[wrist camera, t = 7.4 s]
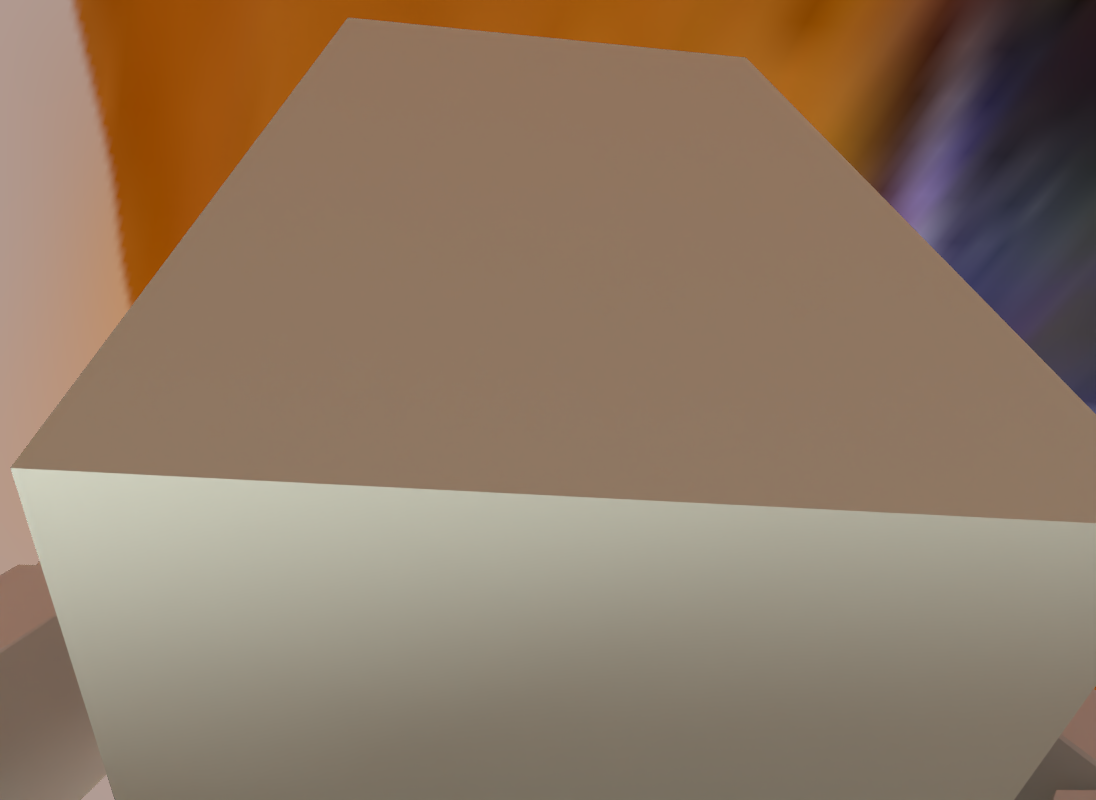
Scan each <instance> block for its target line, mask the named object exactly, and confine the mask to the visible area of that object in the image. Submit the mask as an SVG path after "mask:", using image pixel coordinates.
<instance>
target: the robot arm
mask: <svg viewBox="0 0 1096 800" xmlns="http://www.w3.org/2000/svg"><path fill="white" fill-rule="evenodd" d="M105 775H106V770H105V767H104V764H103V761H102V758H101V755H100V751H99V748H98V745H97V742H96V739H95V735H94V732H93V729H92V726H91V723H90V720H89V716H88V713H87V710H86V707H85V704H84V700H83V697H82V694H81V691H80V688H79V685H78V681H77V678H76V675H75V672H74V669H73V665H72V662H71V659H70V656H69V653H68V650H67V646H66V643H65V640H64V637H63V634H62V630H61V627H60V624H59V621H58V618H57V615H56V611H55V608H54V605H53V602H52V599H51V596H50V592H49V589H48V586H47V583H46V580H45V576H44V573H43V570H42V567H41V564H40V561H39V562H38V564H37V565H17V566H15V567H14V568H12V569H10V570H8V571H7V572H5V573H3V574H1V575H0V800H81V799H82V798H83V797H84V796H85V795H86V794H87V793H88V792H89V791H90V790H91V789H92V788H93V787H94V786H95V785H96V784H97V783H98V782H99V781H100V780H101V779H102V778H103V777H104V776H105ZM1014 800H1096V691H1095V690H1094V689H1093V690H1092V692H1091V693H1090V695H1089V696H1088V697H1087V699H1086V700H1085V702H1084V703H1083V704H1082V706H1081V707H1080V708H1079V710H1078V711H1077V713H1076V714H1075V715H1074V717H1073V718H1072V720H1071V721H1070V722H1069V724H1068V725H1067V727H1066V728H1065V729H1064V731H1063V732H1062V734H1061V735H1060V736H1059V738H1058V739H1057V741H1056V742H1055V743H1054V745H1053V746H1052V748H1051V749H1050V750H1049V752H1048V753H1047V755H1046V756H1045V757H1044V759H1043V760H1042V762H1041V763H1040V764H1039V766H1038V767H1037V769H1036V770H1035V771H1034V773H1033V774H1032V776H1031V777H1030V778H1029V780H1028V781H1027V782H1026V784H1025V785H1024V787H1023V788H1022V789H1021V791H1020V792H1019V794H1018V795H1017V796H1016V798H1015V799H1014Z"/></svg>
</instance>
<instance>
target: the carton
mask: <svg viewBox="0 0 1096 800" xmlns="http://www.w3.org/2000/svg"><path fill="white" fill-rule="evenodd" d="M11 471H12V475H13V478H14V481H15V484H16V487H17V491H18V494H19V497H20V500H21V503H22V506H23V509H24V513H25V516H26V519H27V522H28V525H29V529H30V532H31V535H32V538H33V541H34V545H35V548H36V551H37V554H38V557H39V561H40V564H41V567H42V570H43V573H44V576H45V580H46V583H47V586H48V589H49V592H50V596H51V599H52V602H53V605H54V608H55V611H56V615H57V618H58V621H59V624H60V627H61V630H62V634H63V637H64V640H65V643H66V646H67V650H68V653H69V656H70V659H71V662H72V665H73V669H74V672H75V675H76V678H77V681H78V685H79V688H80V691H81V694H82V697H83V700H84V704H85V707H86V710H87V713H88V716H89V720H90V723H91V726H92V729H93V732H94V735H95V739H96V742H97V745H98V748H99V751H100V755H101V758H102V761H103V764H104V767H105V770H106V774H107V777H108V780H109V783H110V786H111V789H112V793H113V796H114V799H115V800H1014V799H1015V798H1016V796H1017V795H1018V794H1019V792H1020V791H1021V789H1022V788H1023V787H1024V785H1025V784H1026V782H1027V781H1028V780H1029V778H1030V777H1031V776H1032V774H1033V773H1034V771H1035V770H1036V769H1037V767H1038V766H1039V764H1040V763H1041V762H1042V760H1043V759H1044V757H1045V756H1046V755H1047V753H1048V752H1049V750H1050V749H1051V748H1052V746H1053V745H1054V743H1055V742H1056V741H1057V739H1058V738H1059V736H1060V735H1061V734H1062V732H1063V731H1064V729H1065V728H1066V727H1067V725H1068V724H1069V722H1070V721H1071V720H1072V718H1073V717H1074V715H1075V714H1076V713H1077V711H1078V710H1079V708H1080V707H1081V706H1082V704H1083V703H1084V702H1085V700H1086V699H1087V697H1088V696H1089V695H1090V693H1091V692H1092V690H1093V689H1094V688H1095V686H1096V414H1095V413H1094V412H1093V411H1092V410H1091V409H1090V408H1089V407H1088V406H1087V405H1086V404H1085V403H1084V402H1083V401H1082V400H1081V399H1080V398H1079V397H1078V396H1077V395H1076V394H1075V393H1074V392H1073V391H1072V390H1071V389H1070V388H1069V387H1068V386H1067V385H1066V384H1065V383H1064V382H1063V381H1062V380H1061V379H1060V378H1059V377H1058V375H1057V374H1056V373H1055V372H1054V371H1053V370H1052V369H1051V368H1050V367H1049V366H1048V365H1047V364H1046V363H1045V362H1044V361H1043V360H1042V359H1041V358H1040V357H1039V356H1038V355H1037V354H1036V353H1035V352H1034V351H1033V350H1032V349H1031V348H1030V347H1029V346H1028V345H1027V344H1026V343H1025V342H1024V341H1023V340H1022V339H1021V338H1020V337H1019V336H1018V335H1017V334H1016V333H1015V332H1014V331H1013V330H1012V329H1011V328H1010V327H1009V326H1008V325H1007V323H1006V322H1005V321H1004V320H1003V319H1002V318H1001V317H1000V316H999V315H998V314H997V313H996V312H995V311H994V310H993V309H992V308H991V307H990V306H989V305H988V304H987V303H986V302H985V301H984V300H983V299H982V298H981V297H980V296H979V295H978V294H977V293H976V292H975V291H974V290H973V289H972V288H971V287H970V286H969V285H968V284H967V283H966V282H965V281H964V280H963V279H962V278H961V277H960V276H959V275H958V274H957V273H956V271H955V270H954V269H953V268H952V267H951V266H950V265H949V264H948V263H947V262H946V261H945V260H944V259H943V258H942V257H941V256H940V255H939V254H938V253H937V252H936V251H935V250H934V249H933V248H932V247H931V246H930V245H929V244H928V243H927V242H926V241H925V240H924V239H923V238H922V237H921V236H920V235H919V234H918V233H917V232H916V231H915V230H914V229H913V228H912V227H911V226H910V225H909V224H908V223H907V222H906V221H905V219H904V218H903V217H902V216H901V215H900V214H899V213H898V212H897V211H896V210H895V209H894V208H893V207H892V206H891V205H890V204H889V203H888V202H887V201H886V200H885V199H884V198H883V197H882V196H881V195H880V194H879V193H878V192H877V191H876V190H875V189H874V188H873V187H872V186H871V185H870V184H869V183H868V182H867V181H866V180H865V179H864V178H863V177H862V176H861V175H860V174H859V173H858V172H857V171H856V170H855V169H854V167H853V166H852V165H851V164H850V163H849V162H848V161H847V160H846V159H845V158H844V157H843V156H842V155H841V154H840V153H839V152H838V151H837V150H836V149H835V148H834V147H833V146H832V145H831V144H830V143H829V142H828V141H827V140H826V139H825V138H824V137H823V136H822V135H821V134H820V133H819V132H818V131H817V130H816V129H815V128H814V127H813V126H812V125H811V124H810V123H809V122H808V121H807V120H806V119H805V118H804V117H803V115H802V114H801V113H800V112H799V111H798V110H797V109H796V108H795V107H794V106H793V105H792V104H791V103H790V102H789V101H788V100H787V99H786V98H785V97H784V96H783V95H782V94H781V93H780V92H779V91H778V90H777V89H776V88H775V87H774V86H773V85H772V84H771V83H770V82H769V81H768V80H767V79H766V78H765V77H764V76H763V75H762V74H761V73H760V72H759V71H758V70H757V69H756V68H755V67H754V66H753V65H752V63H751V62H750V61H749V60H748V59H747V58H744V57H734V56H724V55H714V54H704V53H694V52H684V51H674V50H664V49H654V48H645V47H635V46H625V45H615V44H605V43H595V42H585V41H575V40H565V39H555V38H545V37H535V36H525V35H515V34H506V33H496V32H486V31H476V30H466V29H456V28H446V27H436V26H426V25H416V24H406V23H396V22H386V21H376V20H367V19H357V18H347V20H346V21H345V22H344V24H343V25H342V26H341V28H340V29H339V30H338V32H337V33H336V34H335V36H334V37H333V38H332V40H331V41H330V42H329V44H328V45H327V46H326V48H325V49H324V50H323V52H322V53H321V54H320V56H319V57H318V58H317V60H316V61H315V62H314V64H313V65H312V66H311V68H310V69H309V70H308V72H307V73H306V74H305V76H304V77H303V78H302V80H301V81H300V82H299V84H298V85H297V86H296V88H295V89H294V90H293V92H292V93H291V94H290V96H289V97H288V98H287V100H286V101H285V102H284V104H283V105H282V106H281V108H280V109H279V110H278V112H277V113H276V114H275V116H274V117H273V118H272V120H271V121H270V122H269V124H268V125H267V126H266V128H265V129H264V130H263V132H262V133H261V134H260V136H259V137H258V138H257V140H256V141H255V142H254V144H253V145H252V146H251V148H250V149H249V150H248V152H247V153H246V154H245V156H244V157H243V158H242V160H241V161H240V162H239V164H238V165H237V166H236V168H235V169H234V170H233V172H232V173H231V174H230V176H229V177H228V178H227V180H226V181H225V182H224V184H223V185H222V186H221V188H220V189H219V190H218V192H217V193H216V194H215V196H214V197H213V198H212V200H211V201H210V202H209V204H208V205H207V206H206V208H205V209H204V210H203V212H202V213H201V214H200V216H199V217H198V218H197V220H196V221H195V222H194V224H193V225H192V226H191V228H190V229H189V230H188V232H187V233H186V234H185V236H184V237H183V238H182V240H181V241H180V242H179V244H178V245H177V246H176V248H175V249H174V250H173V252H172V253H171V254H170V256H169V257H168V258H167V260H166V261H165V262H164V264H163V265H162V266H161V268H160V269H159V270H158V272H157V273H156V274H155V276H154V277H153V278H152V280H151V281H150V282H149V284H148V285H147V286H146V288H145V289H144V290H143V292H142V293H141V294H140V296H139V297H138V298H137V300H136V301H135V302H134V304H133V305H132V306H131V308H130V309H129V310H128V312H127V313H126V315H125V316H124V317H123V318H122V320H121V321H120V323H119V324H118V325H117V327H116V328H115V329H114V330H113V332H112V333H111V334H110V336H109V337H108V339H107V340H106V341H105V342H104V344H103V345H102V347H101V348H100V349H99V351H98V352H97V353H96V355H95V356H94V357H93V359H92V360H91V361H90V363H89V364H88V365H87V367H86V368H85V369H84V370H83V372H82V373H81V374H80V376H79V377H78V378H77V380H76V381H75V383H74V384H73V385H72V386H71V388H70V389H69V390H68V392H67V393H66V395H65V396H64V397H63V398H62V400H61V401H60V402H59V404H58V405H57V407H56V408H55V409H54V410H53V412H52V413H51V414H50V416H49V417H48V419H47V420H46V421H45V422H44V424H43V425H42V426H41V428H40V429H39V431H38V432H37V433H36V434H35V436H34V437H33V438H32V440H31V441H30V443H29V444H28V445H27V446H26V448H25V449H24V451H23V452H22V453H21V455H20V456H19V457H18V459H17V460H16V461H15V463H14V464H13V465H12V467H11Z"/></svg>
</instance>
